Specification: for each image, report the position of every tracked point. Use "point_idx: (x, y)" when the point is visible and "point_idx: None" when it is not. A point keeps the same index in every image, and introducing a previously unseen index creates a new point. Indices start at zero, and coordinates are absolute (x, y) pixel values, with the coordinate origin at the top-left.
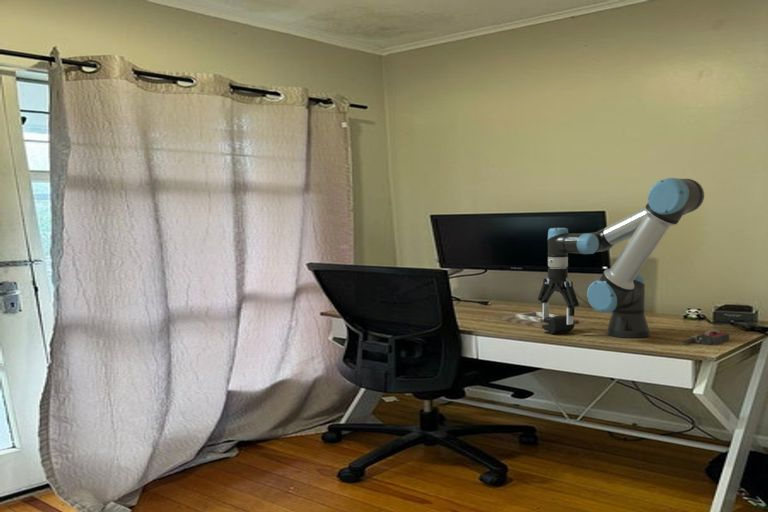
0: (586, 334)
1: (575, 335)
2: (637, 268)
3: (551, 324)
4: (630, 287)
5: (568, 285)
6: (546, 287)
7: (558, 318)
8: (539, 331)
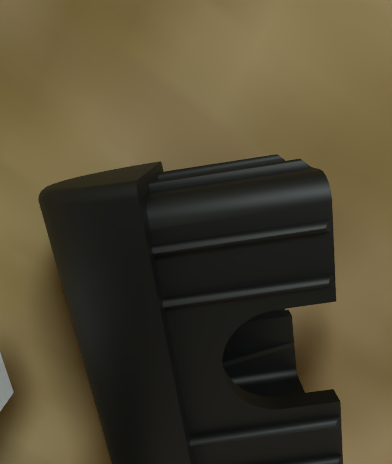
0: (36, 417)
1: (31, 329)
2: None
3: (119, 174)
4: None
5: None
6: None
7: (95, 315)
8: (365, 170)
